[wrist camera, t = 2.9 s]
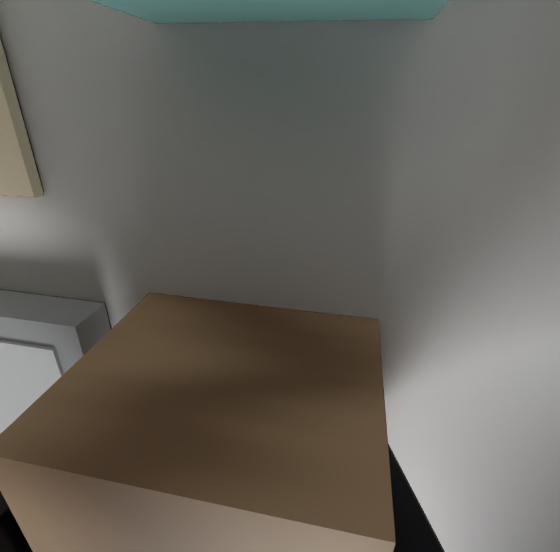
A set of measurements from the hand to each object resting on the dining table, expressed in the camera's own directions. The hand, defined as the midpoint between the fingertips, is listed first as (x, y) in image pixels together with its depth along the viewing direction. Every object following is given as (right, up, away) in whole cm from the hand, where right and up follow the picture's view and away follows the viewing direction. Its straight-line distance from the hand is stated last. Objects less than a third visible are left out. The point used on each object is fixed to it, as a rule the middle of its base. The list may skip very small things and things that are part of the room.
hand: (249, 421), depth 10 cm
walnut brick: (0, +1, +1) cm, 1 cm away
